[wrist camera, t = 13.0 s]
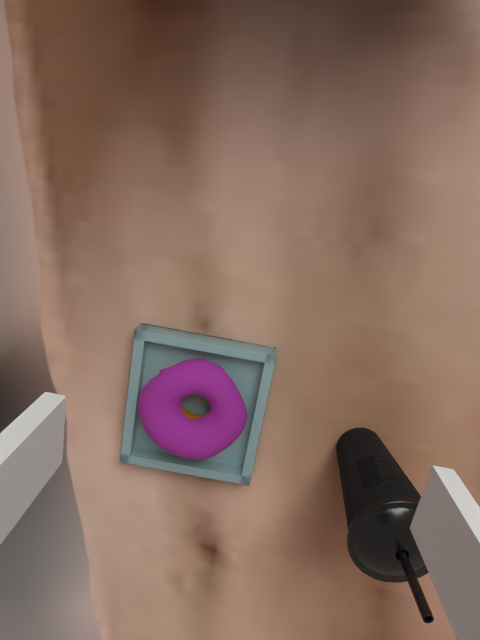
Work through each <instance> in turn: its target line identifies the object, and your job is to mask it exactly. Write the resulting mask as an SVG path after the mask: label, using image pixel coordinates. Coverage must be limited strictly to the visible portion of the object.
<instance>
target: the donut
mask: <svg viewBox="0 0 480 640" xmlns="http://www.w3.org/2000/svg"><path fill="white" fill-rule="evenodd" d="M194 394H196V395H201V396H203V397H205V398H206V399H207V400H208V401H209V402H210V409H209V411H208V412H207V413H205V414H203V415H197V414H193V413H191V412H189V411H187V410H186V409H185V408H184V407H183V406H182V402H183V400H184V398H185V397H187V396H189V395H194ZM138 410H139V413H140V419H141V422H142V425H143V427H144V429H145V431H146V433H147V434H148V435H149V437H150V438H151V439H152V440H153V441H154V442H155V443H156V444H157V445H158V446H159V447H161V448H162V449H164V450H165V451H167V452H169V453H171V454H173V455H175V456H178V457H181V458H185V459H192V460H202V459H207V458H210V457H213V456H215V455H217V454H218V453H220V452H222V451H223V450H225V449H226V448H227V447H229V446H230V445H231V444H232V443H233V442H234V441H235V440H236V439H237V438H238V437H239V436H240V435H241V433H242V432H243V430H244V428H245V426H246V423H247V417H248V413H247V408H246V405H245V403H244V400H243V398H242V396H241V394H240V392H239V390H238V388H237V387H236V385H235V383H234V382H233V380H232V379H231V377H230V376H229V375H228V374H227V373H226V372H225V370H224V369H223V368H222V367H220V366H219V365H218V364H215V363H213V362H210V361H208V360H206V359H204V358H193V359H189V360H184V361H181V362H179V363H177V364H175V365H173V366H170V367H168V368H165V369H162V370H160V373H159V374H158V375H157V376H155V377H154V378H152V379H151V380H150V381H149V382H148V383H147V384H146V385H145V386H144V387H143V388H142V390H141V392H140V395H139V400H138Z"/></svg>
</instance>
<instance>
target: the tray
mask: <svg viewBox="0 0 480 640" xmlns="http://www.w3.org/2000/svg"><path fill="white" fill-rule="evenodd" d="M276 357H277V352H276V348H274V347H269V346H264V345H258V344H253V343H247V342H242V341H236V340H231V339H225V338H220V337H214V336H209V335H203V334H198V333H192V332H187V331H181V330H176V329H170V328H165V327H160V326H154V325H149V324H143V323H141V324H140V325H139V326H138V327H137V328H136V329H135V336H134V345H133V353H132V362H131V370H130V379H129V387H128V396H127V404H126V413H125V421H124V430H123V438H122V447H121V455H120V462H122V463H127V464H133V465H138V466H144V467H149V468H155V469H160V470H166V471H171V472H177V473H182V474H188V475H193V476H199V477H204V478H210V479H216V480H221V481H227V482H232V483H238V484H243V485H249V484H250V479H251V474H252V470H253V465H254V460H255V455H256V451H257V446H258V441H259V437H260V432H261V427H262V422H263V418H264V413H265V408H266V404H267V399H268V394H269V390H270V385H271V380H272V375H273V371H274V366H275V361H276ZM193 358H204V359H206V360H208V361H210V362H213V363H215V364H218V365H219V366H220V367H222V368H223V369H224V370H225V372H226V373H227V374H228V375H229V376H230V377H231V379H232V380H233V382H234V383H235V385H236V387H237V388H238V390H239V392H240V394H241V396H242V398H243V400H244V403H245V405H246V408H247V413H248V417H247V423H246V426H245V428H244V430H243V432H242V433H241V435H240V436H239V437H238V438H237V439H236V440H235V441H234V442H233V443H232V444H231V445H230V446H229V447H227V448H226V449H225V450H223V451H222V452H220V453H218V454H217V455H215V456H213V457H210V458H207V459H202V460H192V459H185V458H181V457H178V456H175V455H173V454H171V453H169V452H167V451H165V450H164V449H162V448H161V447H159V446H158V445H157V444H156V443H155V442H154V441H153V440H152V439H151V438H150V437H149V435H148V434H147V433H146V431H145V429H144V427H143V425H142V422H141V419H140V413H139V410H138V400H139V395H140V392H141V390H142V388H143V387H144V386H145V385H146V384H147V383H148V382H149V381H150V380H151V379H152V378H154V377H155V376H157V375H158V374H159V373H160V370H162V369H165V368H168V367H170V366H173V365H175V364H177V363H179V362H181V361H184V360H189V359H193ZM182 406H183V407H184V408H185V409H186V410H187V411H189V412H191V413H193V414H197V415H203V414H205V413H207V412H208V411H209V409H210V402H209V401H208V400H207V399H206V398H205V397H203V396H201V395H196V394H194V395H189V396H187V397H185V398H184V400H183V402H182Z"/></svg>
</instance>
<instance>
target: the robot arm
mask: <svg viewBox="0 0 480 640" xmlns="http://www.w3.org/2000/svg"><path fill="white" fill-rule="evenodd" d="M66 397H67V396H64V395H59V394H53V393H48V392H45V393H44V394H43V395H41V396H40V397H39V398H38V399H37V400H36V401H35V402H34V403H33V404H32V405H31V406H29V407H28V408H27V409H26V410H25V411H24V412H23V413H22V414H21V415H20V416H19V417H17V418H16V419H15V421H13V422H12V423H11V424H10V425H9V426H8V427H7V428H6V429H5V430H3V431H2V432H1V433H0V545H1V543H2V542H3V541H4V539H5V538H6V537H7V535H8V534H9V532H10V531H11V530H12V529H13V527H14V526H15V525H16V523H17V522H18V521H19V519H20V518H21V516H22V515H23V514H24V512H25V511H26V510H27V508H28V507H29V506H30V504H31V503H32V502H33V500H34V499H35V498H36V496H37V495H38V494H39V492H40V491H41V490H42V488H43V487H44V486H45V484H46V483H47V482H48V480H49V479H50V477H51V476H52V475H53V473H54V472H55V471H56V469H57V468H58V467H59V465H60V464H61V463H62V456H63V441H64V427H65V426H64V425H65V412H66ZM410 530H411V532H412V535H413V537H414V539H415V542H416V544H417V546H418V549H419V551H420V553H421V556H422V558H423V560H424V563H425V565H426V567H427V570H428V572H429V574H430V577H431V579H432V581H433V584H434V586H435V588H436V591H437V593H438V595H439V598H440V600H441V602H442V605H443V607H444V609H445V612H446V614H447V616H448V619H449V621H450V623H451V626H452V628H453V631H454V633H455V635H456V638H457V640H480V507H479V506H478V504H477V503H476V501H475V500H474V498H473V497H472V496H471V494H470V493H469V491H468V490H467V488H466V487H465V485H464V484H463V482H462V481H461V479H460V478H459V476H458V475H457V473H456V472H455V470H454V469H449V468H444V467H438V466H432V468H431V471H430V474H429V476H428V479H427V482H426V485H425V487H424V490H423V493H422V495H421V498H420V501H419V504H418V506H417V509H416V512H415V514H414V517H413V520H412V523H411V525H410Z"/></svg>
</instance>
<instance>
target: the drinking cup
mask: <svg viewBox="0 0 480 640" xmlns="http://www.w3.org/2000/svg"><path fill="white" fill-rule="evenodd" d="M337 456H338V463H339V470H340V477H341V484H342V490H343V497H344V504H345V511H346V518H347V525H348V534H347V547H348V551H349V554H350V557H351V559H352V561H353V562H354V564H355V565H356V566H357V567H358V568H359V569H360V570H361V571H362V572H363V573H365V574H366V575H368V576H370V577H372V578H374V579H377V580H380V581H384V582H406V581H408V583H409V586H410V588H411V591H412V593H413V596H414V598H415V601H416V604H417V606H418V609H419V611H420V614H421V616H422V619H423V621H424V622H425V623H431V622H432V621H433V620H434V618H433V615H432V613H431V610H430V608H429V606H428V603H427V601H426V599H425V596H424V594H423V591H422V589H421V587H420V584H419V582H418V580H417V578H419V577H421V576H423V575H425V574H427V573H428V570H427V567H426V565H425V563H424V560H423V558H422V556H421V553H420V551H419V549H418V546H417V544H416V542H415V539H414V537H413V535H412V532H411V530H410V525H411V523H412V520H413V517H414V514H415V512H416V509H417V506H418V504H419V501H420V498H421V496H420V494H419V493H418V491H417V490H416V489H415V487H414V486H413V484H412V483H411V482H410V480H409V479H408V477H407V476H406V475H405V473H404V472H403V470H402V469H401V468H400V466H399V465H398V463H397V462H396V461H395V459H394V458H393V456H392V455H391V454H390V452H389V451H388V449H387V448H386V447H385V445H384V444H383V442H382V441H381V440H380V438H379V437H378V436H377V434H376V433H374V432H373V431H371V430H369V429H366V428H354V429H351V430H349V431H347V432H345V433H344V434H343V435H342V436H341V437H340V439H339V440H338V443H337Z"/></svg>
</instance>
